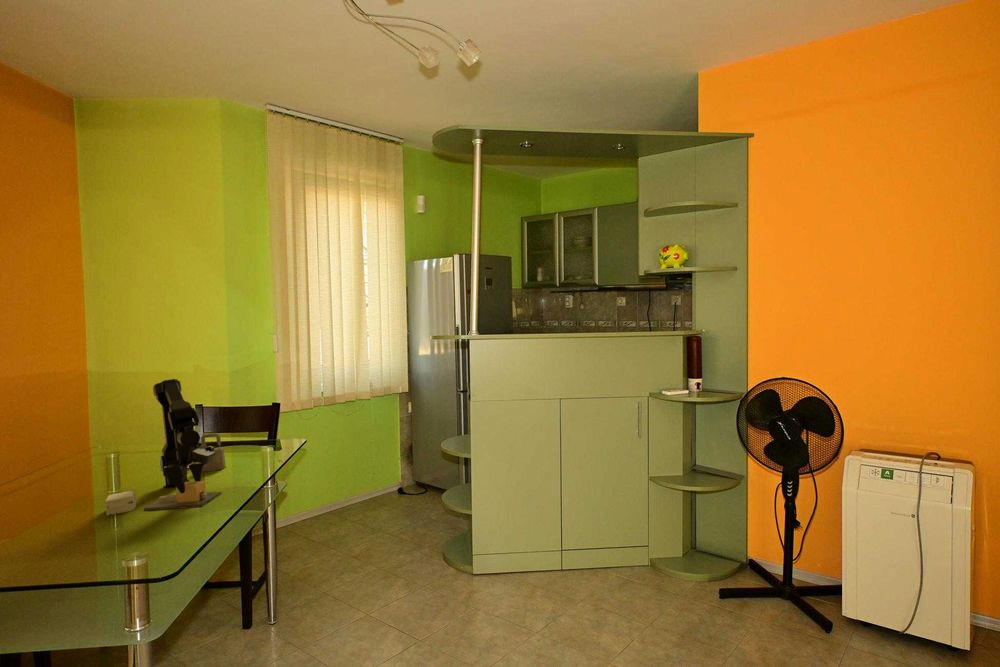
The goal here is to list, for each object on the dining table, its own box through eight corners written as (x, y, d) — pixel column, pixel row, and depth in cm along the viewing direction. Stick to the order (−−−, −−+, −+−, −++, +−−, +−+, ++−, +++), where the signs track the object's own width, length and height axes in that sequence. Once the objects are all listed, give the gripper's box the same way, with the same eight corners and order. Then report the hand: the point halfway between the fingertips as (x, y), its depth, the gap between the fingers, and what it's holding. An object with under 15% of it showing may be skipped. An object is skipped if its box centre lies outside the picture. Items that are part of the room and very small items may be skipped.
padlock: (223, 469, 234) (218, 433, 233) (202, 472, 233) (197, 435, 232) (226, 466, 238) (222, 431, 237) (205, 469, 237) (201, 433, 236)
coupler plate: (143, 510, 190) (142, 503, 189) (165, 498, 202) (165, 491, 201) (202, 506, 189) (201, 499, 189) (221, 493, 201) (220, 487, 201)
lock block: (177, 502, 193) (175, 487, 192) (186, 497, 198) (184, 482, 197) (197, 500, 192) (196, 485, 192) (206, 495, 197) (204, 480, 197)
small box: (106, 516, 188) (104, 501, 187) (110, 509, 195) (108, 494, 194) (134, 510, 191) (132, 495, 191) (137, 504, 198) (135, 489, 198)
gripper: (192, 448, 184) (198, 496, 185) (222, 434, 203) (227, 478, 204) (159, 451, 185) (165, 498, 186) (192, 437, 203) (197, 480, 204)
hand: (190, 488), depth 195 cm, fingers open, 9 cm apart
